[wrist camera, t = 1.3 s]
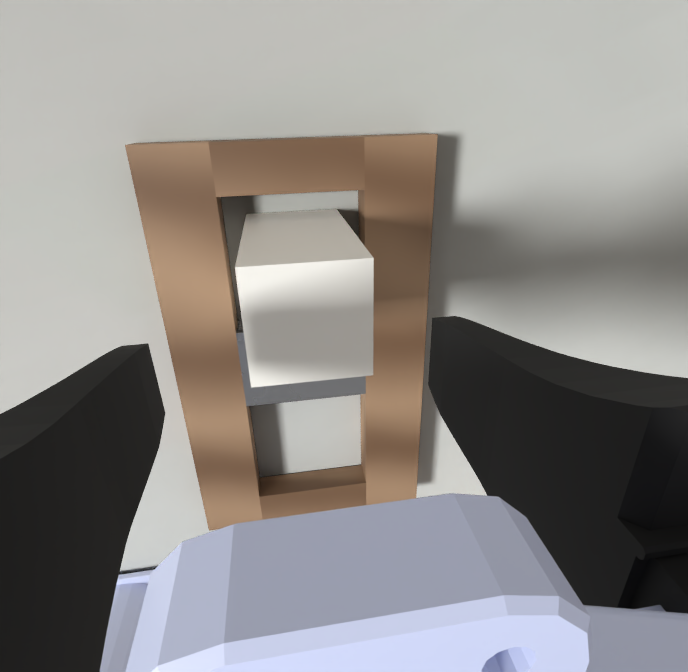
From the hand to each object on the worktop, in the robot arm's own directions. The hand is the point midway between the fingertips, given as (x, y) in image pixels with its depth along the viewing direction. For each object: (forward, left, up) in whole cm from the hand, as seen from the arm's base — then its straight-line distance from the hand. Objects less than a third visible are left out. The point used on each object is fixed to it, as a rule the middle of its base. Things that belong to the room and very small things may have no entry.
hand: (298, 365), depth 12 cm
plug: (0, 0, -10) cm, 11 cm away
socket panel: (-5, 0, -10) cm, 12 cm away
